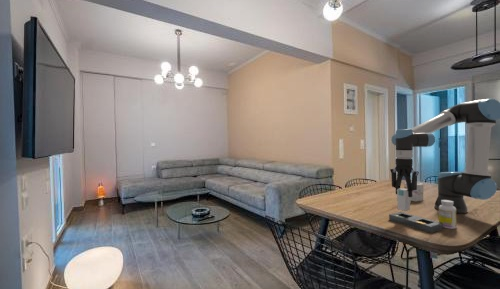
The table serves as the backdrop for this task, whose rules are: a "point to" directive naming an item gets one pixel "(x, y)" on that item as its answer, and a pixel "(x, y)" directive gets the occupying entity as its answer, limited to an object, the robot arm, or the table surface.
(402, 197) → the plug
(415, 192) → the ink box
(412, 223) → the panel
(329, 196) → the table surface
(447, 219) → the supplement bottle
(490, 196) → the robot arm
